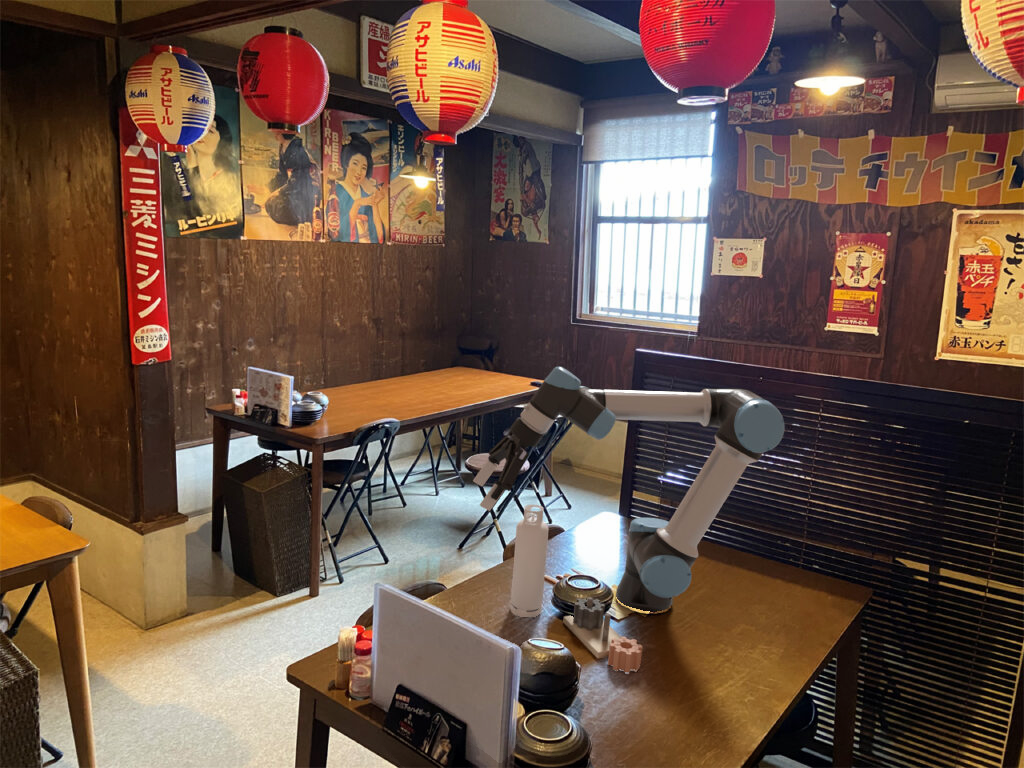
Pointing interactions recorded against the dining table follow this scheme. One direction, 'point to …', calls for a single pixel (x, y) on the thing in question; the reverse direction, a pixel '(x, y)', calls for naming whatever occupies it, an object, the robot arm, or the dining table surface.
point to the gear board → (592, 626)
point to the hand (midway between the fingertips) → (480, 495)
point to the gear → (624, 654)
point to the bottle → (529, 563)
